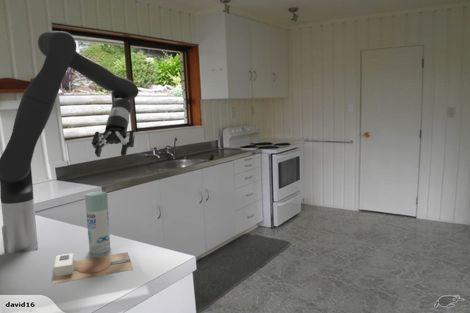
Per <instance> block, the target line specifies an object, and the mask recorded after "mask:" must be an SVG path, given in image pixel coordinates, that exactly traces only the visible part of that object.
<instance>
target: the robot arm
mask: <svg viewBox="0 0 470 313" xmlns="http://www.w3.org/2000/svg"><path fill="white" fill-rule="evenodd" d="M37 46H38V49H39V51H40V53H41V54H42V55H43V56H45V60H44V63H43V65H42V67H41V69H40V70H39V72H38V73H37V75H35V77H34V78H33V79H32V80H31V81H30V83H29V84H28V85H27V87H26V88H25V90H24V92H23V94H22V97H21V99H20V102H19V104H18V108H17V112H16V115H15V118H14V122H13V126H12V127H13V128H12V132H11V135H10V138H9V140H8V142H7V144H6V146H5V148H4V150H3V152H2V154H1V157H0V204H1V215H2V216H1V217H2V227H1V233H2V243H3V254H4V255H14V254H19V253H26V252H33V251H37V250H38V249H39V242H38V234H37V233H38V232H37V220H36V210H35V199H34V198H35V197H34V186H33V185H34V184H33V173H32V162H33V161H32V160H33V156H34V153H35V148H36V145H37V143H38V140H39V139H40V137H41V135H42V133H43V131H44V129H45V127H46V126H47V123H48V121H49V118H50V116H51V114H52V111H53V108H54V106H55V102H56V99H57V96H58V93H59V91H60V89H61V85H62V82H63V80H64V77H65V75H66V74H67V71H68V70H69V68H70V69H72V70H73V71H76V72H77V73H79V74H81V75H82V76H83V77H85V78H86V79H87V80H90V82H93V83H94V84H96V85H97V86H99V87H100V88H102V89H103V90H105V91H108V92H111V102H112V104H111V108H110V112H109V114H108V118H107V122H106V125H105V129H104V132H99V131H95V132H94V134H93V138H92V140H91V145H92V147H93V149H95V151H94V154H95V156H96V157H97V158H100V157H101V154H102V150H103V148H104V147H107V146H108V145H113V144H114V145H118V144H120V145H121V150H120V155H121V157H123V158H124V157H125V156H126V155H127V152H128V149H129V148H133V147H134V144H135V132H134V131H133V130H130V131H129V132H128V127H129V124H130V114H131V109H132V103H131V102H130V101H131V100H133V99H135V98H137V97H138V95H139V87H138V86H137V85H136V83H134V81H132V80H130V79H127V78H125V77H123V76H119V75H117V74H115V73H114V72H112V71H110V70H109V69H108V68H107V67H106V66H104V65H101V63H98V62H96V61H95V60H92V59H90V58H88V57H87V56H84V55H83V54H81V53H79V52H78V51H77V42H76V39H75V37H74V36H73V35H72V34H71V33H69V32H67V31H62V30H61V31H59V30H48V31H45V32H43V33H41V34H40V35H39V37H38V39H37ZM127 137H128V141H126V140H125V139H126V138H127Z"/></svg>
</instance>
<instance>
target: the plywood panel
mask: <svg viewBox="0 0 470 313" xmlns="http://www.w3.org/2000/svg"><path fill="white" fill-rule="evenodd" d="M132 264H133V263H132V262H131V258H130V255H129V252H128V251H126V252H120V253H114V254H109V255H102V256H95V257H89V258H88V257H87V258H82V259H76V260H74V265H73V274H67V275H62V276H56V277H55V275H54V277H53V282H52V284H53V285H55V284H61V283H67V282H72V281H78V280H84V279H89V278H93V277H101V276H106V275H111V274H117V273H121V272H128V271H133V270H134V268H133V265H132Z"/></svg>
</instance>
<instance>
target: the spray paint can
mask: <svg viewBox="0 0 470 313" xmlns="http://www.w3.org/2000/svg"><path fill="white" fill-rule="evenodd" d="M84 196H85V197H84V200H85V210H86V223H87V224H86V225H87V237H88V250H89V253H90V254H92V255H93V254H94V255H95V254H96V255H98V254H104V253H107V252H108V251H110V250H111V239H110V238H111V237H110V236H111V235H110V223H109V203H108V193H107V191H98V190H97V191H92V192H87V193H85V194H84Z"/></svg>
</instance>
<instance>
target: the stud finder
mask: <svg viewBox="0 0 470 313" xmlns="http://www.w3.org/2000/svg"><path fill="white" fill-rule="evenodd" d="M74 261H75V258H74V253H73V252H71V253H65V254H58V255H56V257H55V261H54V264H53V266H54V267H53V269H54V270H53V272H54V276H55V277H56V276H62V275H67V274H73V265H74Z"/></svg>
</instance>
